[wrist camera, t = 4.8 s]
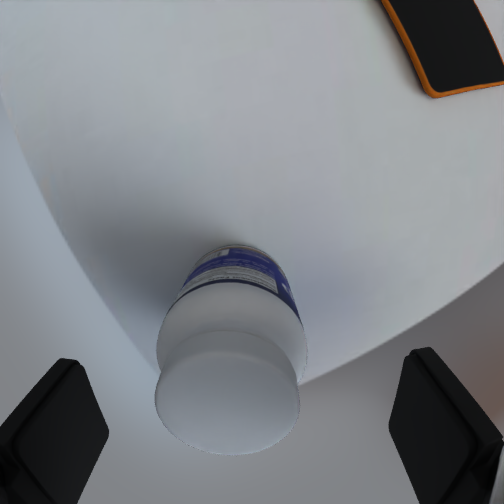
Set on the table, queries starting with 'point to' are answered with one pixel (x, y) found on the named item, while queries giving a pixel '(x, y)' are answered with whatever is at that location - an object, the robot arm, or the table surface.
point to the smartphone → (447, 44)
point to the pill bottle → (231, 355)
